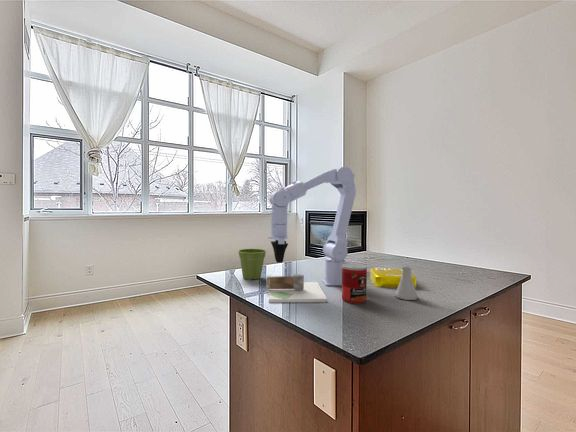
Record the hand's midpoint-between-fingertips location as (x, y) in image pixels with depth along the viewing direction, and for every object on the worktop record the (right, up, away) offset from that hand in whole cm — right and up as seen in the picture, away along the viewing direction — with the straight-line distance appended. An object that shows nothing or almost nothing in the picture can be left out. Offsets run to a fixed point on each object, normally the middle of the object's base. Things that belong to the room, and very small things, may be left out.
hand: (279, 261), depth 110 cm
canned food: (+24, -10, -13) cm, 29 cm away
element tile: (+44, -10, +9) cm, 46 cm away
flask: (+42, -11, -10) cm, 45 cm away
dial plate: (+6, -10, -6) cm, 13 cm away
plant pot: (-11, -9, +14) cm, 20 cm away
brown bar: (+2, -8, -7) cm, 11 cm away
